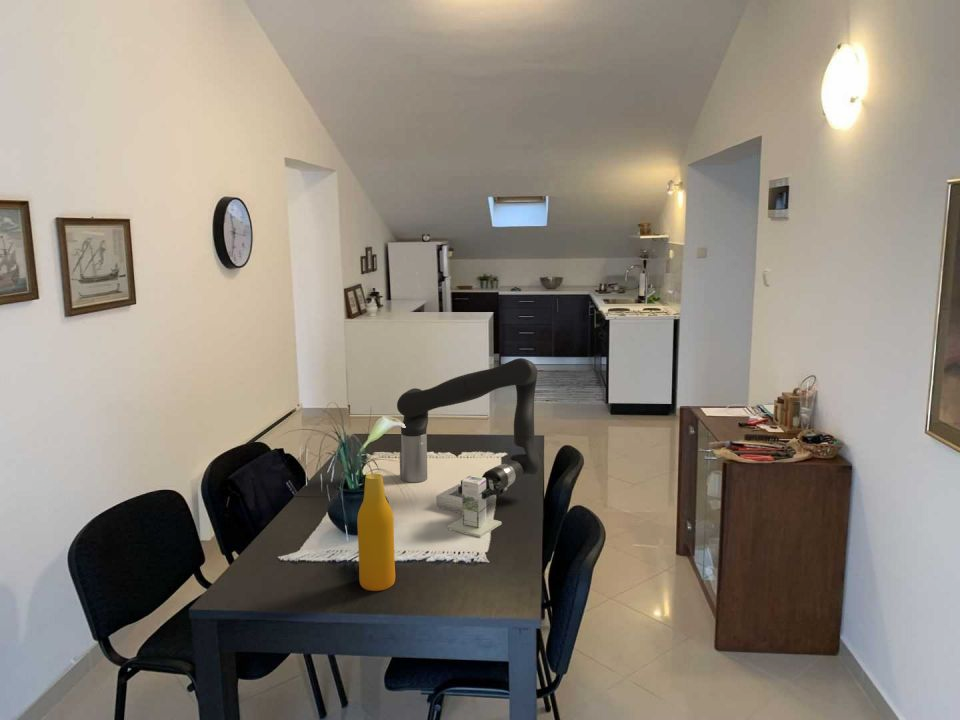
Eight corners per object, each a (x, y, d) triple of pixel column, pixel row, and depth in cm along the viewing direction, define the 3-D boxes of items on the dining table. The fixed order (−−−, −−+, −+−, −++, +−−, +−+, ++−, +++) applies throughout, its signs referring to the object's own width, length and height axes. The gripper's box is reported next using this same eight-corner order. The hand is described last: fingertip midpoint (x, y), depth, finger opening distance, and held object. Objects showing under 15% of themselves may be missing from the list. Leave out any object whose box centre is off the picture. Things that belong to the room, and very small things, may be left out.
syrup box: (487, 521, 227) (486, 477, 224) (478, 528, 222) (478, 483, 219) (470, 518, 229) (470, 474, 227) (461, 525, 224) (461, 480, 221)
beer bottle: (356, 592, 185) (352, 482, 180) (362, 575, 194) (358, 470, 189) (393, 591, 185) (390, 482, 180) (397, 574, 194) (394, 470, 189)
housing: (436, 507, 241) (436, 495, 240) (458, 495, 252) (458, 484, 251) (469, 515, 234) (468, 503, 233) (490, 502, 245) (490, 491, 244)
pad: (447, 528, 224) (447, 526, 223) (469, 516, 233) (469, 513, 233) (480, 537, 217) (480, 535, 217) (501, 524, 227) (501, 521, 227)
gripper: (480, 463, 238) (451, 477, 225) (518, 470, 231) (490, 485, 217) (480, 485, 240) (451, 500, 226) (518, 493, 232) (490, 509, 219)
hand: (470, 493), depth 222 cm, fingers open, 8 cm apart
